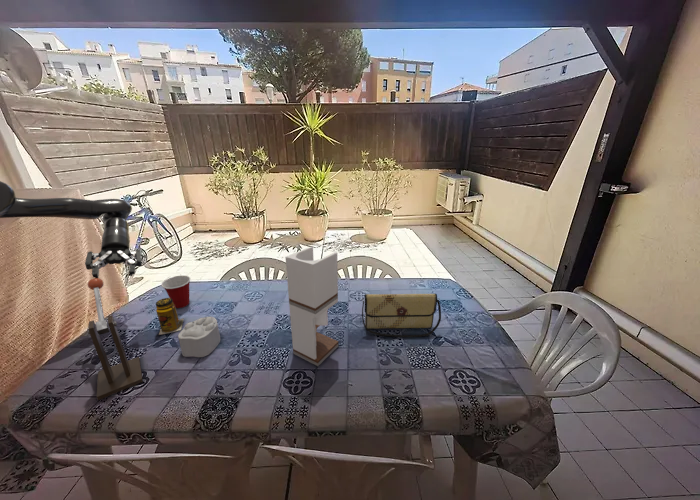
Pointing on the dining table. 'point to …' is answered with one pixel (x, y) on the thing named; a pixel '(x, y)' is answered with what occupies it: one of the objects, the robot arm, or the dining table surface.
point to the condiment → (168, 316)
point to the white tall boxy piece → (311, 302)
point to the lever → (99, 305)
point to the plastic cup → (178, 290)
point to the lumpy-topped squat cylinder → (199, 337)
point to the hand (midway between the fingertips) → (114, 275)
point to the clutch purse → (400, 312)
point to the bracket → (118, 374)
